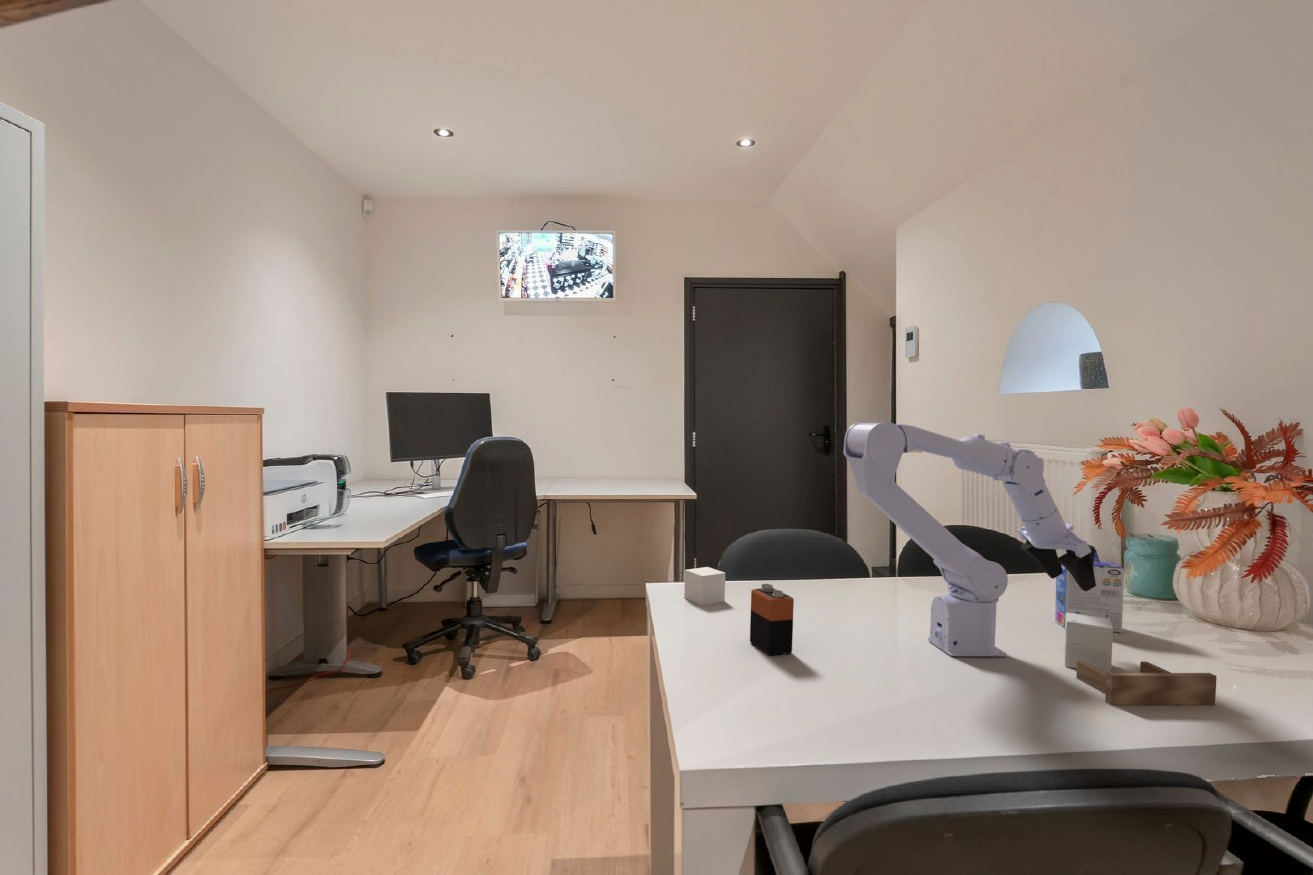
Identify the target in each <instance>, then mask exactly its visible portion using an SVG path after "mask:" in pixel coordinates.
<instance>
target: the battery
mask: <svg viewBox="0 0 1313 875" xmlns="http://www.w3.org/2000/svg"><path fill="white" fill-rule="evenodd" d="M750 592H751V594H750V599H751V600H750V620H749V621H750V624H749V626H750V627H749V642H750V643H751V644H752V645H754V646H755V647H757V648H758V649H760V650H761V651H762V652H764V653H766V654H767V655H769V656H779V655H788V654H792V653H793V639H794V638H793V633H794V632H793V630H794V627H793V626H794V603H795V602H794V600H795V599H794V598H793V596H790V595H788V594H787V593H784V591H783V590H780V589H776V588H774V585H773V584H770V583H761V588H754V589H751V591H750Z"/></svg>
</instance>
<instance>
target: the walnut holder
mask: <svg viewBox="0 0 1313 875" xmlns="http://www.w3.org/2000/svg"><path fill="white" fill-rule="evenodd" d="M1217 676H1218V675H1215V674H1213V673H1211V672H1171V671H1168V670H1167V669H1164V668H1162V667H1159V666H1158V665H1156V664H1153V663H1150V662H1149V661H1140V665H1139V672H1111V673H1105V672H1103V671H1101V670H1099V669H1097V668H1095V667H1093V666H1091V665H1090V664H1088V663H1086V662H1084V661H1077V669H1076V677H1075V678H1076V679H1078V680H1080V682H1083V683H1085V684H1086V685H1089V686H1090V687H1092V688H1094V689H1095V690H1097V689H1098V690H1097V691H1099V690H1100V691H1099V692H1101V693H1102V694H1104V693H1105V694H1104V695H1105V696H1104V698H1105V699H1104V702H1105V703H1106V702H1107V703H1106V704H1108V703H1109V704H1108V705H1110V706H1154V705H1155V706H1188V705H1189V706H1202V705H1203V706H1205V705H1206V706H1210V705H1211V706H1216V697H1217V696H1216V695H1217V694H1216V693H1217V679H1218V678H1217ZM1167 704H1168V705H1167ZM1171 704H1172V705H1171ZM1175 704H1177V705H1175ZM1179 704H1181V705H1179Z"/></svg>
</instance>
